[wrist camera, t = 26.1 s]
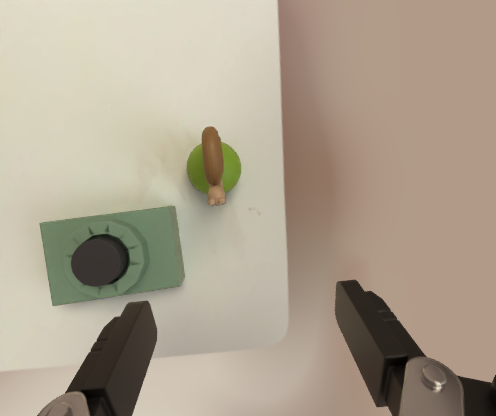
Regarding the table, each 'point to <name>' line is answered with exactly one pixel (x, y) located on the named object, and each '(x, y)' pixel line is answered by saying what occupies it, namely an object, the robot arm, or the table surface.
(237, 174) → the snail figurine
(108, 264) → the black button
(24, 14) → the table surface
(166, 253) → the green push button box
